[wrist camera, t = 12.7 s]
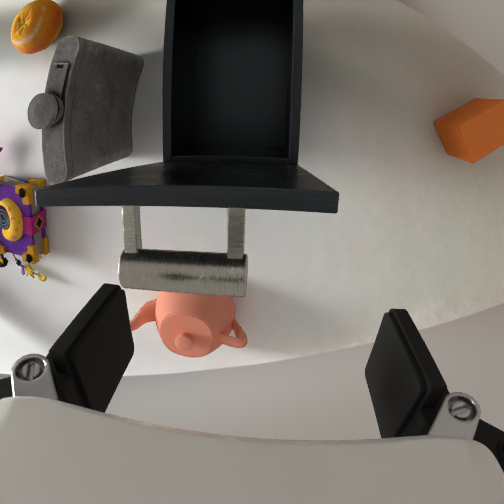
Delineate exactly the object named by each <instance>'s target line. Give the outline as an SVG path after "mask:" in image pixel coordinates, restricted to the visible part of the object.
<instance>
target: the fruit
mask: <svg viewBox="0 0 504 504" xmlns="http://www.w3.org/2000/svg"><path fill="white" fill-rule="evenodd" d="M62 25H63V13H62V10H61V8H60V6H59V5H58V4H57V3H55V2H54V1H51V0H36V1H34V2H31V3H29V4H28V5H26V6H25V7H24V8H22V10H21V11H20V12H19V13H18V15H17V16H16V18H15V20H14V22H13V25H12V29H11V40H12V43H13V45H14V46H15V47H16V48H17V49H18V50H19V51H21V52H23V53H26V54H33V53H36V52H39V51H41V50H43V49H46V48H47V47H48V46H49V45H50V44H51V43H52V42H54V40H55V39H56V38H57V36H58V35H59V33H60V31H61V29H62Z"/></svg>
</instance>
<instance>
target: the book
mask: <svg viewBox="0 0 504 504" xmlns="http://www.w3.org/2000/svg"><path fill="white" fill-rule="evenodd" d="M2 149H3V148H1V147H0V152H1V150H2ZM43 187H45V180H44V179H34V178H31V179H29V180H28V181H24V180H17V179H14V178H11V177H8V176H5V175H4V176H1V177H0V267H1V268H2V267H5V266H7V263H8V260H7V259H6V257H5V258H4V255H3V254H5V253H7V252H10V253H14V254H17V255H21V256H22V257H23V261H26V262H28V267H26V266H24V265H22V264H21V261H20V260H18V261H17V258H16V257H15V256H14V254H13V256H14V257H15V261H17V263H16V264H17V265H18V266H19V265H20V264H21V265H22V266H21V265H20V266H21V267H22V274H23V275H24V274H25V270H26V271H27V275H29V274H30V275H31V276H32V277H33V278H34V274H36V275H38V278H39V279H40V280H41V281H46V276H45V275H44V277H42V276H41V275H40V274H39V273H38V274H37V273H34V271H35V269H32V268H31V266H30V263H33V264H36V263H37V262H38V261H39V258H42V257H41V254H44V255H47V254H48V253H49V246H48V237H46V236H45V227H46V213H45V209H43V207H37V206H36V198H35V190H36V189H39V188H43ZM24 269H25V270H24ZM33 273H34V274H33ZM27 275H26V276H27Z"/></svg>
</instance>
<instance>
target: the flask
mask: <svg viewBox="0 0 504 504" xmlns="http://www.w3.org/2000/svg"><path fill="white" fill-rule="evenodd" d="M142 68H143V59H142V58H141V57H140V56H138V55H135V54H132V53H129V52H126V51H123V50H120V49H117V48H114V47H111V46H107V45H104V44H101V43H98V42H94V41H91V40H87V39H84V38H80V37H76V36H72V35H70V36H66V37H64V38H63V39H62V40H61V41H60V42H59V43H58V45H57V47H56V50H55V53H54V56H53V59H52V62H51V66H50V70H49V74H48V78H47V83H46V89H45V93H42V94H41V93H40V94H38V95H36V96H35V97H34V98H33V99H32V100H31V102H30V104H29V107H28V120H29V123H30V124H31V126H32V127H34V128H35V129H42V151H43V161H44V168H45V174H46V177H47V179H48V180H49V181H50V182H51V183H52V184H58V183H62V182H66V181H68V180H70V179H72V178H75V177H77V176H79V175H82V174H84V173H87V172H89V171H92V170H94V169H96V168H99V167H101V166H104V165H107V164H109V163H112V162H114V161H117V160H120V159H122V158H125V157H127V156H129V155H130V154H131V152H132V135H131V123H132V110H133V102H134V96H135V91H136V87H137V83H138V79H139V76H140V73H141V71H142Z"/></svg>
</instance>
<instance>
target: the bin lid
mask: <svg viewBox="0 0 504 504" xmlns="http://www.w3.org/2000/svg"><path fill="white" fill-rule="evenodd" d="M35 198H36V206H37V207H49V206H122V218H123V233H124V246H125V250H124V251H123V252H122V254H121V256H120V260H119V266H118V275H119V280H120V283H121V285H122V286H123V287H124V288H130V289H141V290H152V291H164V292H176V293H189V294H203V295H217V296H233V297H245V295H246V288H247V273H248V256H247V254H244V236H245V209H267V210H287V211H305V212H321V213H337V212H338V201H339V192H337V191H336V190H334V189H333V188H331V187H330V186H329V185H327V184H326V183H324V182H323V181H321V180H320V179H318V178H317V177H315V176H314V175H312V174H311V173H309V172H308V171H306V170H305V169H303V168H302V167H300V166H299V165H292V164H274V163H249V162H159V163H153V164H147V165H142V166H136V167H131V168H126V169H121V170H116V171H111V172H106V173H101V174H97V175H92V176H88V177H83V178H79V179H75V180H71V181H66V182H62V183H58V184H54V185H50V186H47V187H43V188H39V189H36V190H35ZM140 206H180V207H217V208H228V241H227V253H215V252H195V251H175V250H156V249H142V240H141V223H140Z"/></svg>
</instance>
